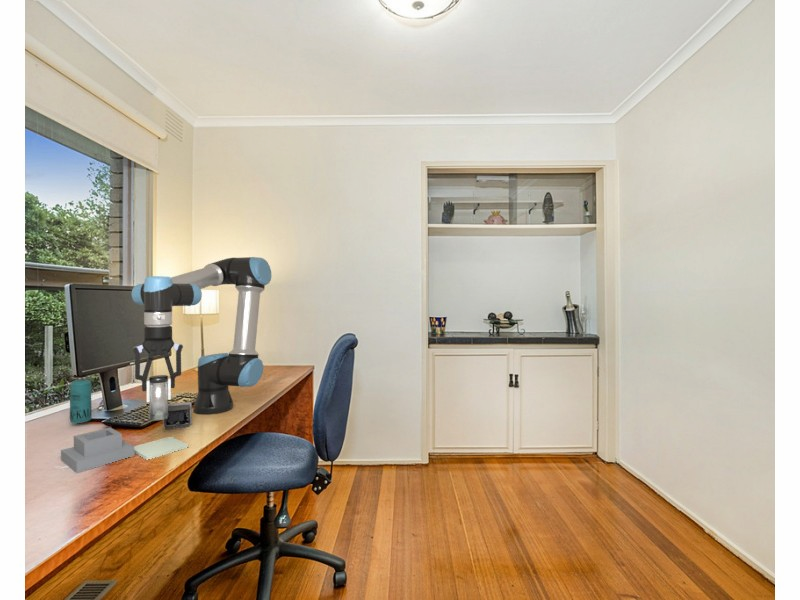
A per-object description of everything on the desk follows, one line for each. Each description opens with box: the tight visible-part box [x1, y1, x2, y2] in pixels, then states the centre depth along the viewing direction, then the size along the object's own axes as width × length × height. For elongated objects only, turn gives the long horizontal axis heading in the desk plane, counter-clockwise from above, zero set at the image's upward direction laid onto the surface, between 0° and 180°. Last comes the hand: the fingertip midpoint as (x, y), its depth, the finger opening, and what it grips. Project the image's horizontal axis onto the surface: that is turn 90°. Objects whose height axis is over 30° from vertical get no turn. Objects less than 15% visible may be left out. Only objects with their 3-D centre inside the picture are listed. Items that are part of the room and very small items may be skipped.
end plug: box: [148, 374, 169, 422], centre depth 126 cm, size 5×5×13 cm
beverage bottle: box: [69, 374, 93, 424], centre depth 150 cm, size 6×7×20 cm
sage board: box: [133, 436, 189, 461], centre depth 127 cm, size 12×12×1 cm
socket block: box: [60, 427, 135, 474], centre depth 120 cm, size 14×14×7 cm
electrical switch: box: [162, 401, 193, 431], centre depth 146 cm, size 9×5×9 cm, turn 113°
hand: (158, 399), depth 126 cm, fingers closed on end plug, 5 cm apart
